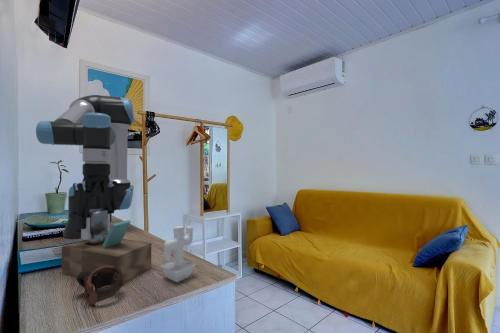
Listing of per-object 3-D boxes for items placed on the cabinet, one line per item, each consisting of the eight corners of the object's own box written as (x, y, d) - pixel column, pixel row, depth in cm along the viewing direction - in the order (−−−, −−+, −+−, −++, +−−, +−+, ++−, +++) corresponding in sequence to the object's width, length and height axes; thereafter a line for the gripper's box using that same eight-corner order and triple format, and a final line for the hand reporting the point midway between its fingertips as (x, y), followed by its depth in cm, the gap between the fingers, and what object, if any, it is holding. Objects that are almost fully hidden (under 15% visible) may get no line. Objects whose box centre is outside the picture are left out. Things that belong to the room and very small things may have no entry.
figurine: (156, 279, 74) (157, 227, 73) (183, 269, 81) (184, 221, 81) (172, 287, 69) (172, 231, 69) (198, 275, 77) (199, 225, 77)
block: (100, 258, 89) (100, 235, 89) (151, 268, 82) (151, 243, 82) (61, 273, 77) (61, 246, 77) (117, 286, 69) (117, 256, 69)
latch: (120, 242, 81) (118, 240, 82) (130, 221, 80) (128, 219, 80) (104, 248, 76) (102, 246, 76) (114, 226, 74) (112, 224, 75)
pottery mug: (130, 286, 70) (132, 266, 67) (111, 320, 62) (112, 299, 58) (87, 275, 70) (86, 254, 66) (61, 308, 61) (59, 286, 58)
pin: (97, 247, 85) (98, 208, 85) (112, 249, 83) (112, 209, 83) (78, 253, 79) (79, 211, 79) (94, 256, 77) (94, 213, 77)
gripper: (75, 162, 70) (74, 246, 70) (130, 163, 89) (129, 230, 89) (56, 162, 73) (55, 243, 73) (113, 163, 91) (112, 228, 91)
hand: (96, 236), depth 81 cm, fingers closed on pin, 6 cm apart
